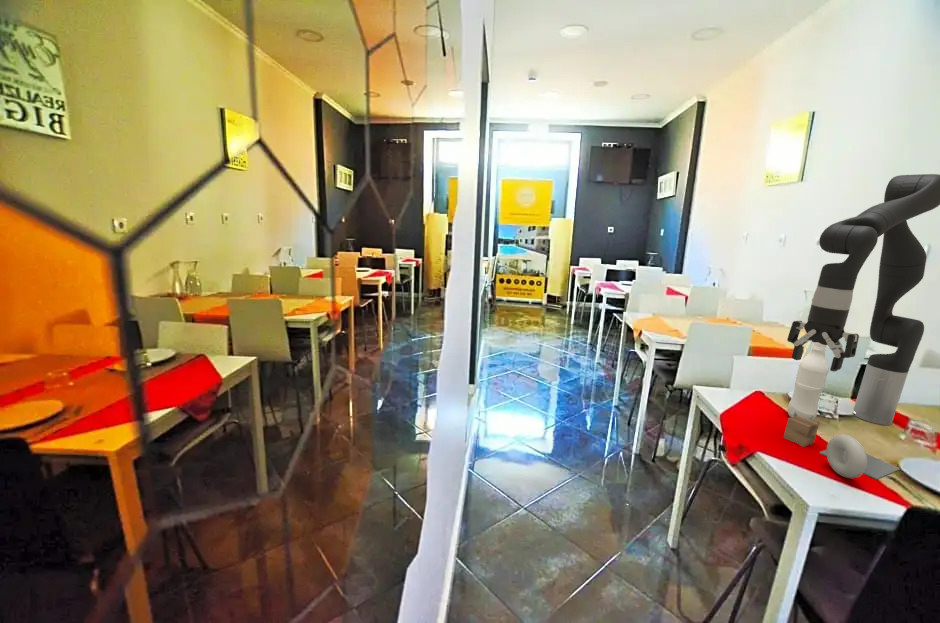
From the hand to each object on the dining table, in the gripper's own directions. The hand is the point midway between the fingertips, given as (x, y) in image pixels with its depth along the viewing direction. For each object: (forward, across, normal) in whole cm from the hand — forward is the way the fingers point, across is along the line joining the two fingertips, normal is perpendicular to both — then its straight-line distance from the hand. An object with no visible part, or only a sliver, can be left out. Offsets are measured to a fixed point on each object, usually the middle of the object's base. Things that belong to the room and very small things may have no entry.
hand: (814, 365), depth 111 cm
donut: (+23, -13, +6) cm, 27 cm away
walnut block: (+23, 0, -2) cm, 23 cm away
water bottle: (+23, +8, -18) cm, 30 cm away
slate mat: (+23, -12, -6) cm, 26 cm away
